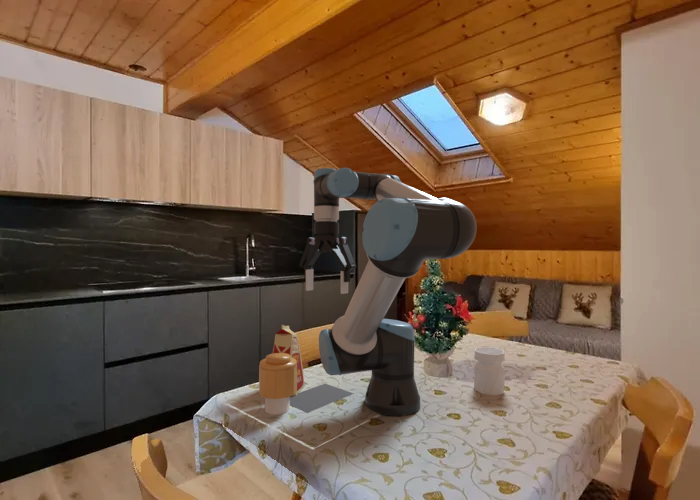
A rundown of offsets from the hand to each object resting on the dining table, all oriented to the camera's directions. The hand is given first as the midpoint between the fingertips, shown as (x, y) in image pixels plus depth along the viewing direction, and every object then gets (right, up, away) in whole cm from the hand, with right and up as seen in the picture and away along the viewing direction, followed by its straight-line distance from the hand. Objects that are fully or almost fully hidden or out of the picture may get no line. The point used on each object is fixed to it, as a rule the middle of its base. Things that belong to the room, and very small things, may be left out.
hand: (326, 291), depth 119 cm
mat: (-2, -30, -6) cm, 30 cm away
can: (-12, -30, -14) cm, 35 cm away
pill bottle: (+49, -30, +2) cm, 58 cm away
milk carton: (-12, -30, 0) cm, 32 cm away
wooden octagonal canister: (-12, -25, -14) cm, 31 cm away
